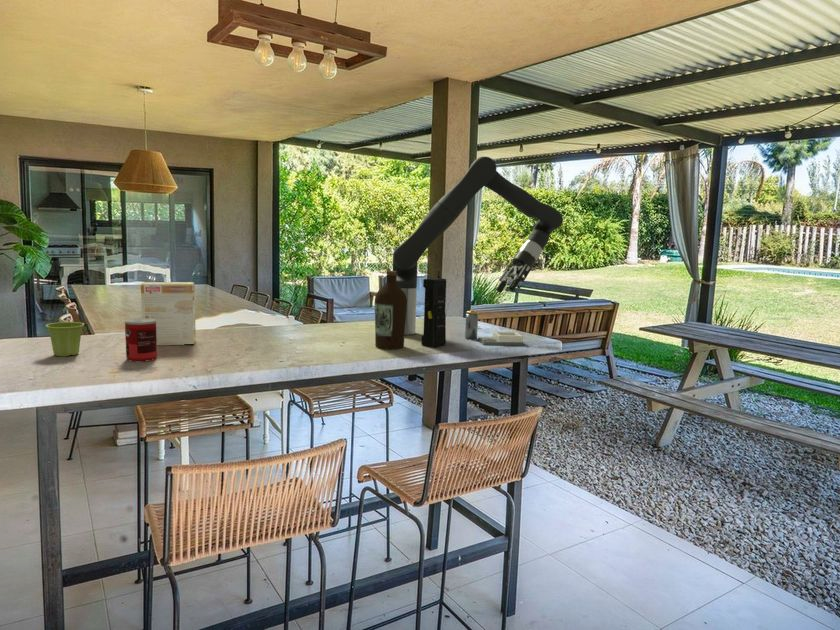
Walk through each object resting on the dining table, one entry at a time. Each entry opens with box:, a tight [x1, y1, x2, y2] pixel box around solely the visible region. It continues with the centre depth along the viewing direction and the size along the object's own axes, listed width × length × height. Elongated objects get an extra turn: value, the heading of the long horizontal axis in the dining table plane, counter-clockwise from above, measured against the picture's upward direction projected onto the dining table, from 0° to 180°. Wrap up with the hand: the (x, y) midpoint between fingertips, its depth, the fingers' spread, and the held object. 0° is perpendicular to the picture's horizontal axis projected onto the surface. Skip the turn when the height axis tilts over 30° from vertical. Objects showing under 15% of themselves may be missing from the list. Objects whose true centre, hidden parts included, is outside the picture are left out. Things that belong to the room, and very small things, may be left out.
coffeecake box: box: [140, 281, 197, 346], centre depth 187 cm, size 15×7×20 cm, turn 105°
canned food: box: [124, 317, 158, 362], centre depth 165 cm, size 8×8×11 cm
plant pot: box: [45, 321, 85, 357], centre depth 167 cm, size 9×9×9 cm
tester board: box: [477, 331, 524, 346], centre depth 209 cm, size 14×9×3 cm, turn 97°
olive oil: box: [374, 270, 407, 350], centre depth 193 cm, size 11×11×25 cm
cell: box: [464, 309, 479, 341], centre depth 214 cm, size 4×4×11 cm
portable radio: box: [420, 270, 447, 348], centre depth 198 cm, size 8×6×25 cm
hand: (504, 290), depth 210 cm, fingers open, 8 cm apart
